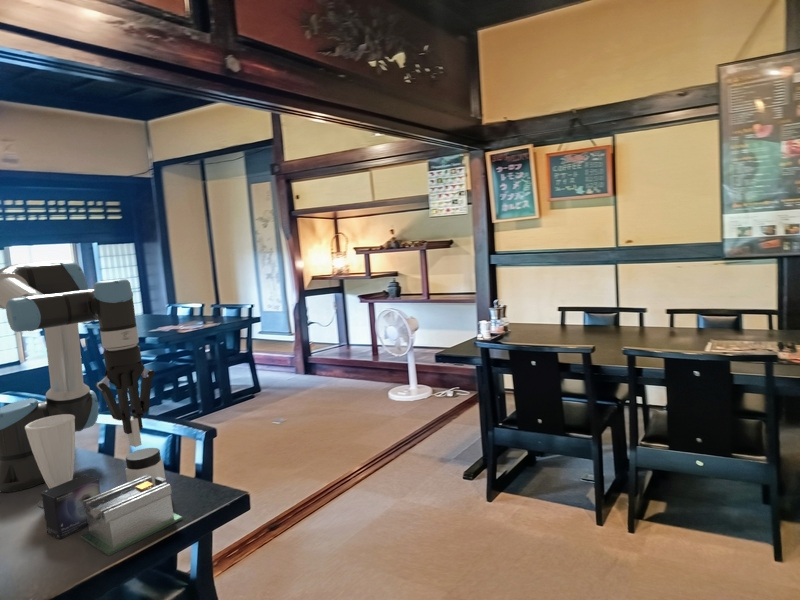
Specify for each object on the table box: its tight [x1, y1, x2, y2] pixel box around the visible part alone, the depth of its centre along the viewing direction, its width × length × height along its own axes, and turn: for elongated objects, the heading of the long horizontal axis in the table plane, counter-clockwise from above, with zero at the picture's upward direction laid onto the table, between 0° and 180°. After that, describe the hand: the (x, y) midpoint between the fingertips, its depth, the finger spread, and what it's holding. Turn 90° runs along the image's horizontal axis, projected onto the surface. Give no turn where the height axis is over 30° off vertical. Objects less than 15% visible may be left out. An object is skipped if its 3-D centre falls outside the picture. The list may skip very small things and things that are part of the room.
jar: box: [124, 447, 166, 487], centre depth 141 cm, size 9×8×12 cm
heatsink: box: [80, 475, 183, 556], centre depth 126 cm, size 14×17×9 cm
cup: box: [25, 414, 76, 509], centre depth 145 cm, size 12×12×22 cm
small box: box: [40, 474, 101, 540], centre depth 129 cm, size 11×6×10 cm, turn 148°
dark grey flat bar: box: [86, 481, 154, 520], centre depth 124 cm, size 14×4×2 cm, turn 142°
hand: (135, 444), depth 127 cm, fingers closed
